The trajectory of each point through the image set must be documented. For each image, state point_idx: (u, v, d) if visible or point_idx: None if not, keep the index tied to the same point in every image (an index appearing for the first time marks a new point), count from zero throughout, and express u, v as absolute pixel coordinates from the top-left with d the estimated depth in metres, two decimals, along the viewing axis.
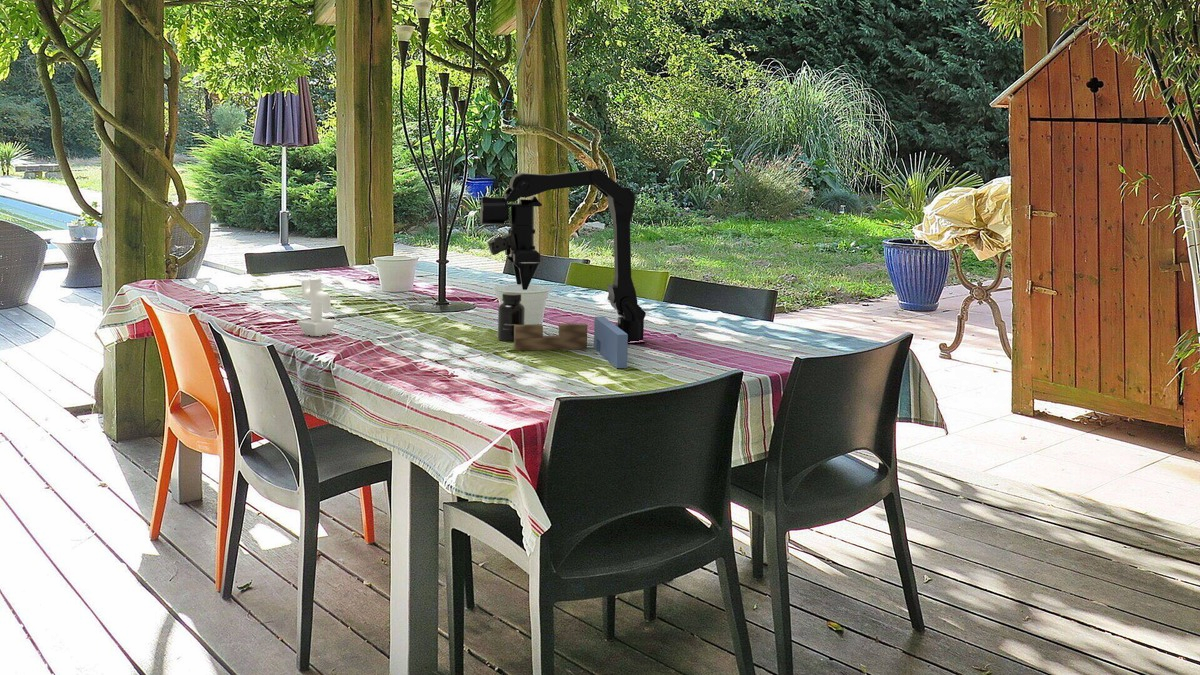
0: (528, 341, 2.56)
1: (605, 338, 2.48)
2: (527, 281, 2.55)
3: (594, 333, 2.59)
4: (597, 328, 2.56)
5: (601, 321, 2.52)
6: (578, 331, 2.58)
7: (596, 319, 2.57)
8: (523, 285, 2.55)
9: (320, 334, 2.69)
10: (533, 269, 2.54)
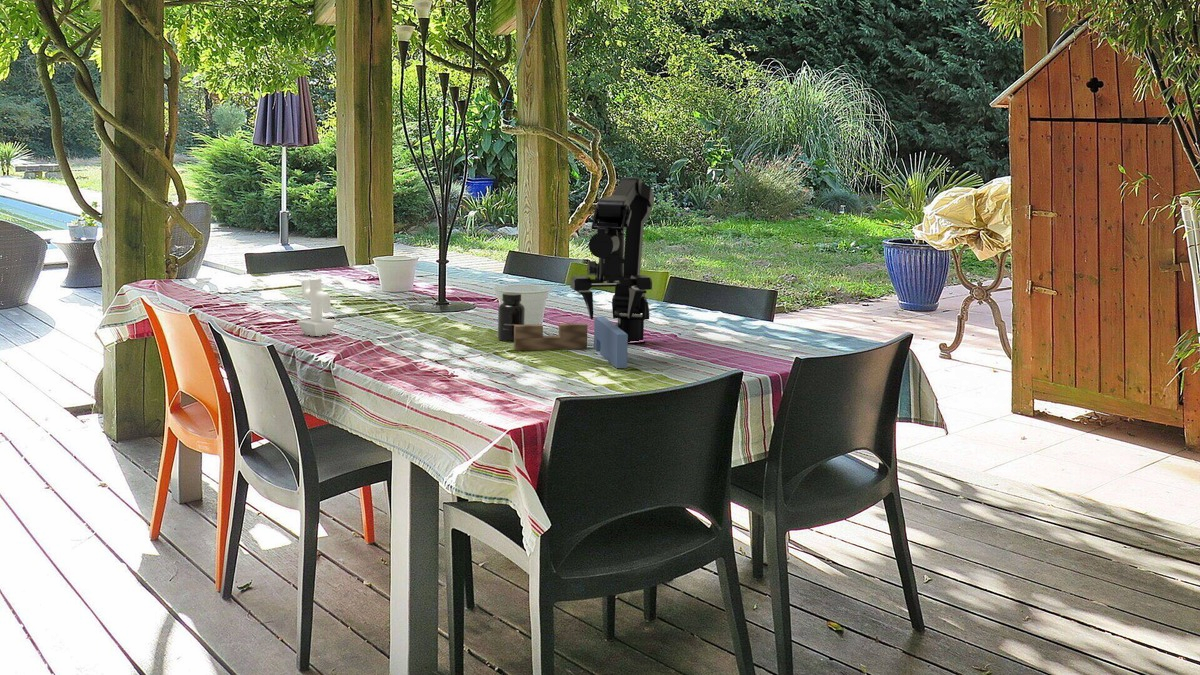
0: (528, 341, 2.56)
1: (605, 338, 2.48)
2: (589, 310, 2.45)
3: (594, 333, 2.59)
4: (597, 328, 2.56)
5: (601, 321, 2.52)
6: (578, 331, 2.58)
7: (596, 319, 2.57)
8: (589, 314, 2.46)
9: (320, 334, 2.69)
10: (586, 298, 2.43)
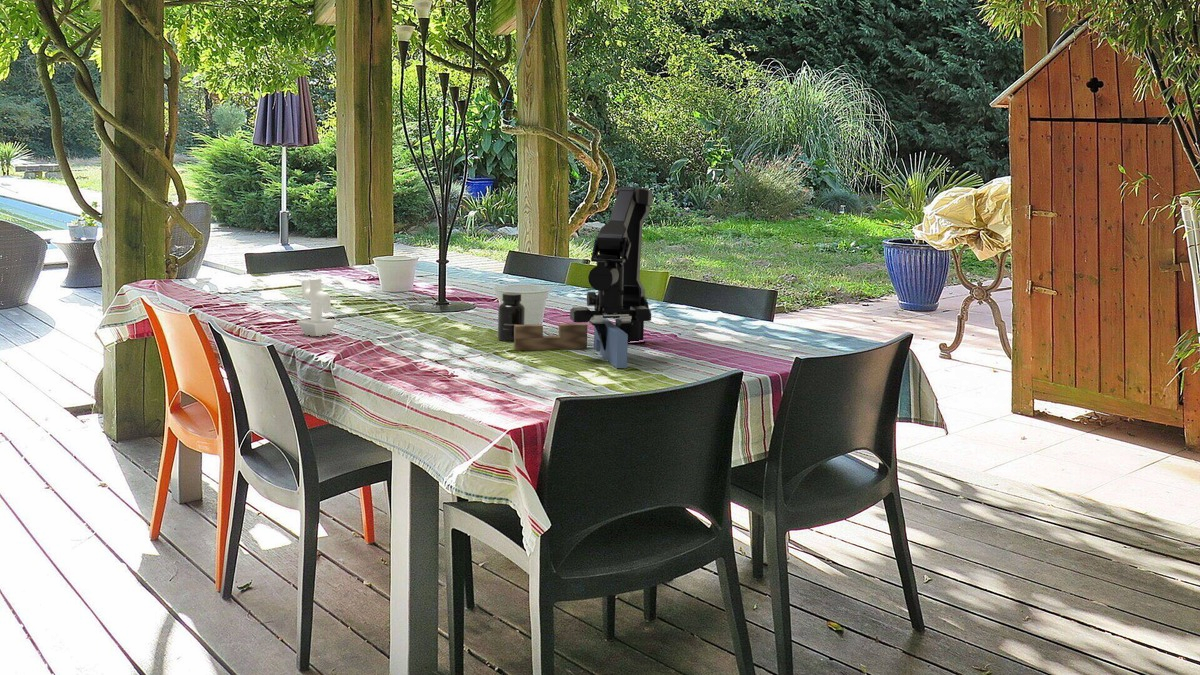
0: (528, 341, 2.56)
1: None
2: (602, 341, 2.47)
3: (594, 333, 2.59)
4: None
5: None
6: (578, 331, 2.58)
7: None
8: (601, 344, 2.48)
9: (320, 334, 2.69)
10: (599, 330, 2.45)
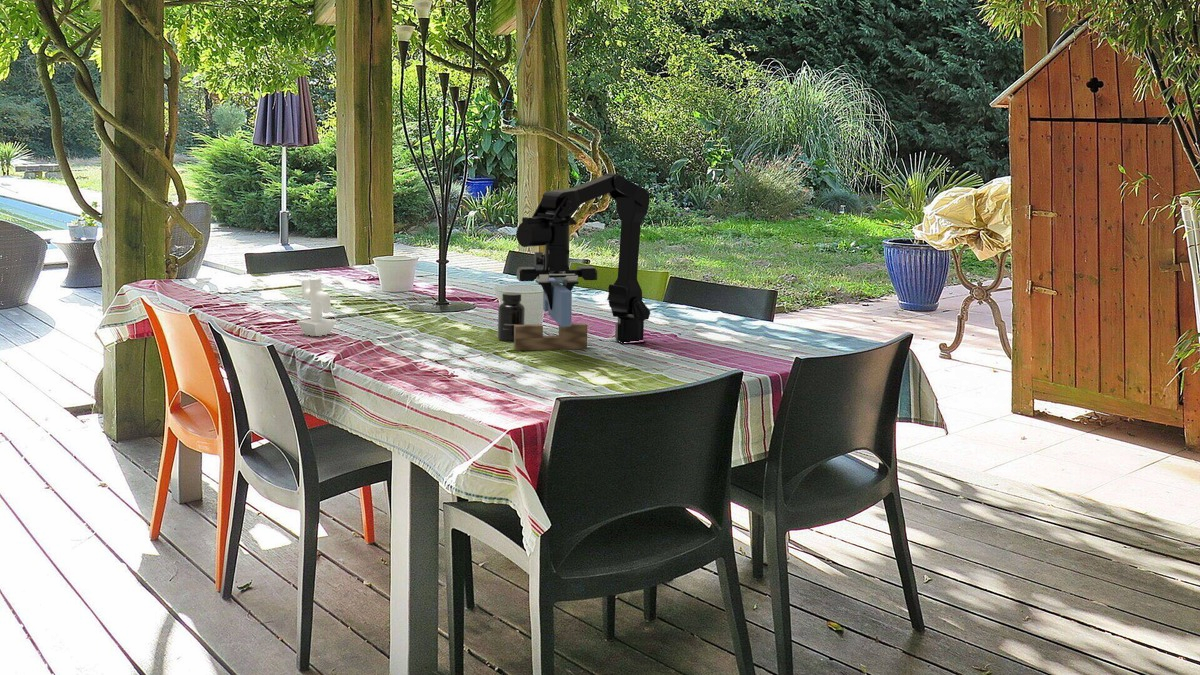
0: (528, 341, 2.56)
1: (552, 297, 2.49)
2: None
3: (543, 294, 2.61)
4: None
5: None
6: (578, 331, 2.58)
7: None
8: (548, 304, 2.50)
9: (320, 334, 2.69)
10: (545, 289, 2.47)
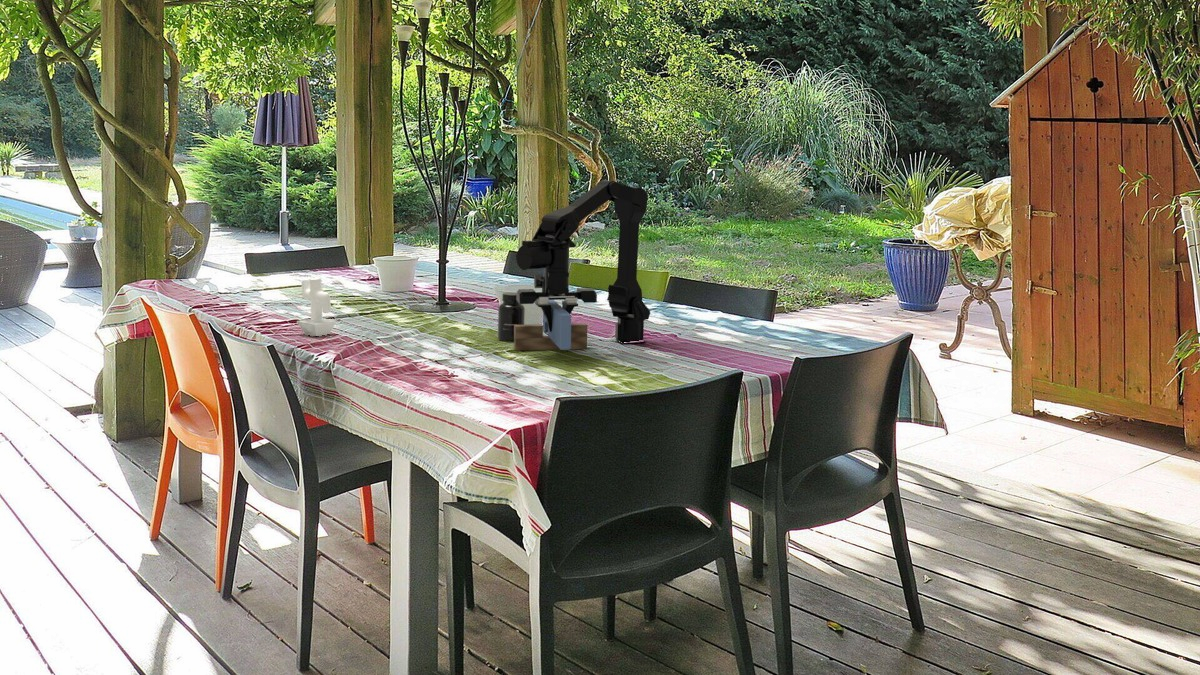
0: (528, 341, 2.56)
1: None
2: (548, 322, 2.50)
3: (543, 315, 2.62)
4: None
5: None
6: (578, 331, 2.58)
7: None
8: (548, 326, 2.51)
9: (320, 334, 2.69)
10: (544, 311, 2.48)
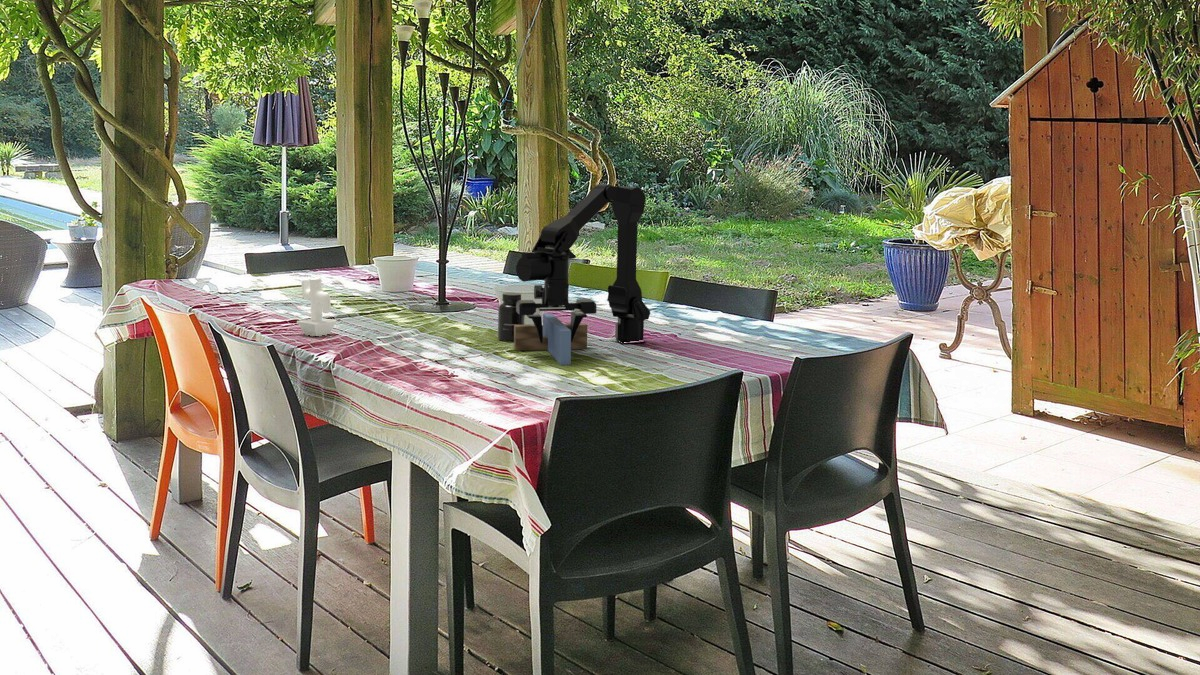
0: (528, 341, 2.56)
1: (551, 335, 2.51)
2: (538, 334, 2.50)
3: (543, 330, 2.62)
4: (545, 325, 2.59)
5: (548, 318, 2.55)
6: (578, 331, 2.58)
7: (544, 316, 2.60)
8: None
9: (320, 334, 2.69)
10: (535, 322, 2.48)
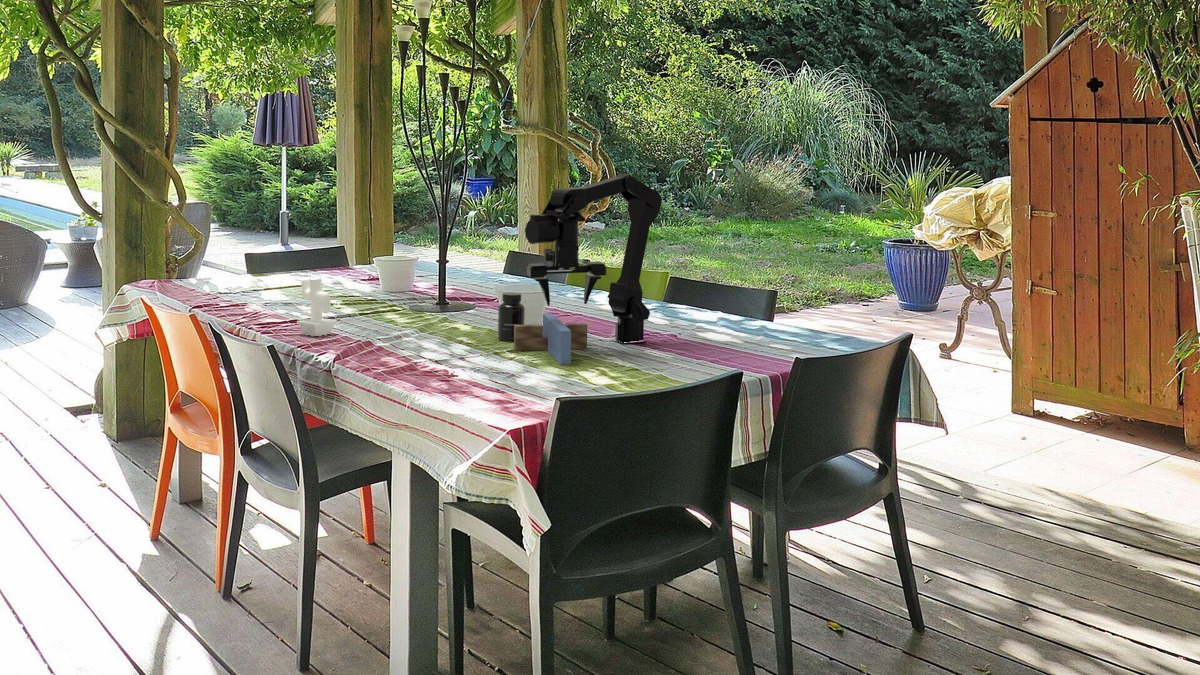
0: (528, 341, 2.56)
1: (551, 335, 2.51)
2: (545, 296, 2.52)
3: (543, 330, 2.62)
4: (545, 325, 2.59)
5: (548, 318, 2.55)
6: (578, 331, 2.58)
7: (544, 316, 2.60)
8: None
9: (320, 334, 2.69)
10: (542, 285, 2.50)
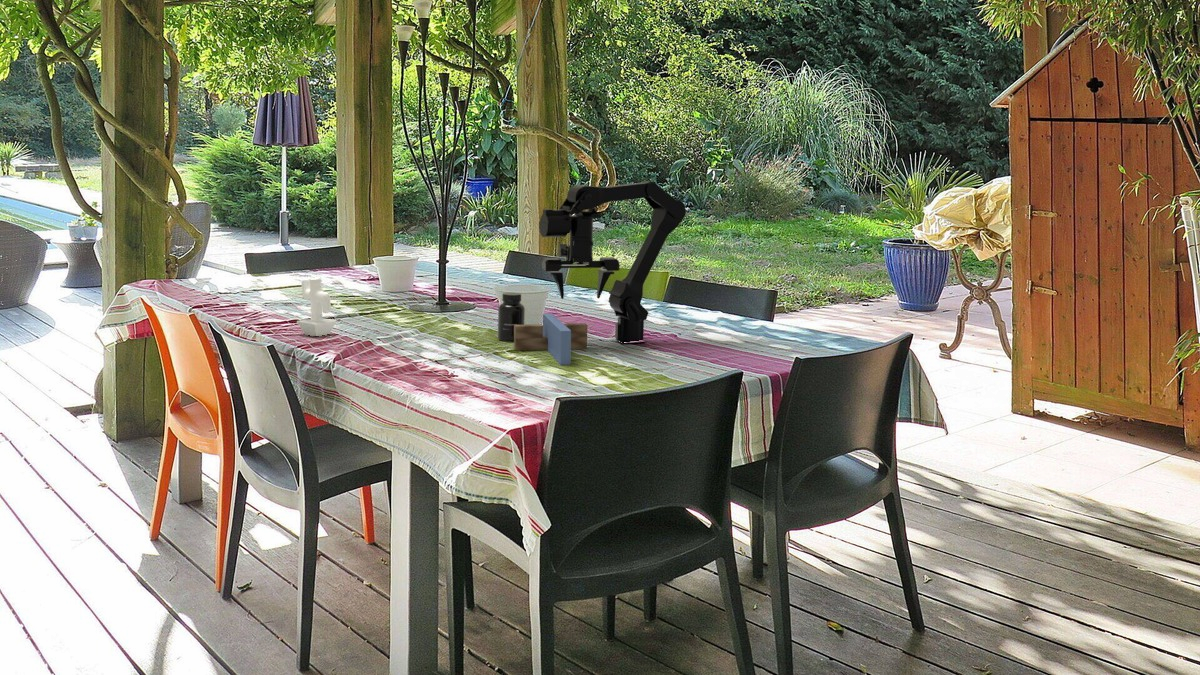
0: (528, 341, 2.56)
1: (551, 335, 2.51)
2: (560, 290, 2.59)
3: (543, 330, 2.62)
4: (545, 325, 2.59)
5: (548, 318, 2.55)
6: (578, 331, 2.58)
7: (544, 316, 2.60)
8: None
9: (320, 334, 2.69)
10: (556, 279, 2.57)
